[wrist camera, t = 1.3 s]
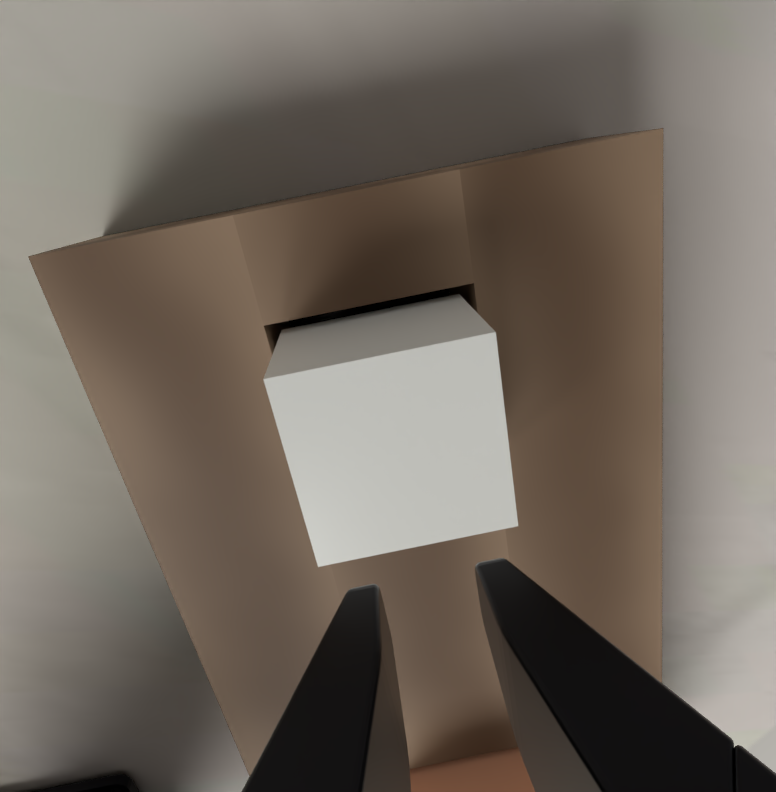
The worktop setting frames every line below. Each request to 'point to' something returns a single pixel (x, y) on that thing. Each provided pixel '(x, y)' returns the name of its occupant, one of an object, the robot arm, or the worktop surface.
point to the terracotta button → (475, 774)
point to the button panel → (264, 454)
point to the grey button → (394, 428)
